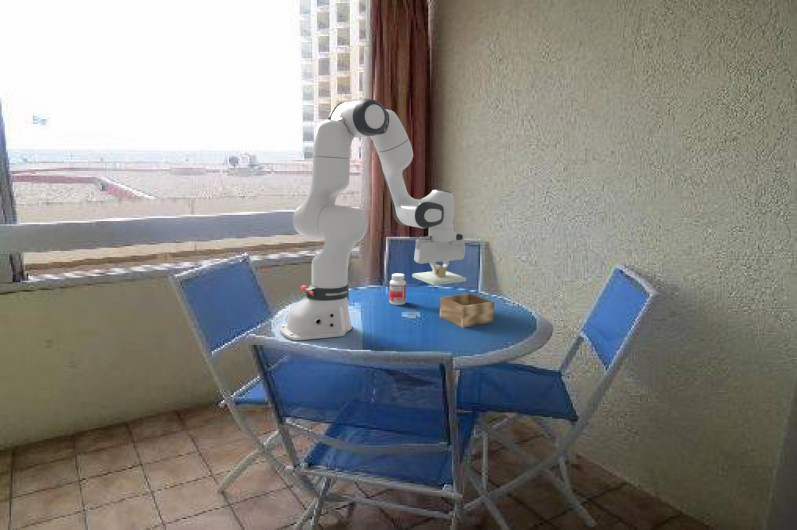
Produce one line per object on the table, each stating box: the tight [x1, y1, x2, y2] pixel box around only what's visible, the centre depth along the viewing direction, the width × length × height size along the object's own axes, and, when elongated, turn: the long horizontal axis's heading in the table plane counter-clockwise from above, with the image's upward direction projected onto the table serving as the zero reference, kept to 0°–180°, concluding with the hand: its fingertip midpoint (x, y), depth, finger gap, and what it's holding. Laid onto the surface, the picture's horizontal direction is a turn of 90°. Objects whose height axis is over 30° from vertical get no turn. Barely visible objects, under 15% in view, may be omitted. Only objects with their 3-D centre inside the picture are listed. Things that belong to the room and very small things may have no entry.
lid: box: [411, 264, 467, 286], centre depth 185 cm, size 14×14×5 cm
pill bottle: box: [388, 272, 407, 306], centre depth 191 cm, size 6×6×11 cm
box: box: [439, 292, 495, 329], centre depth 174 cm, size 13×13×7 cm
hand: (439, 273), depth 185 cm, fingers closed on lid
